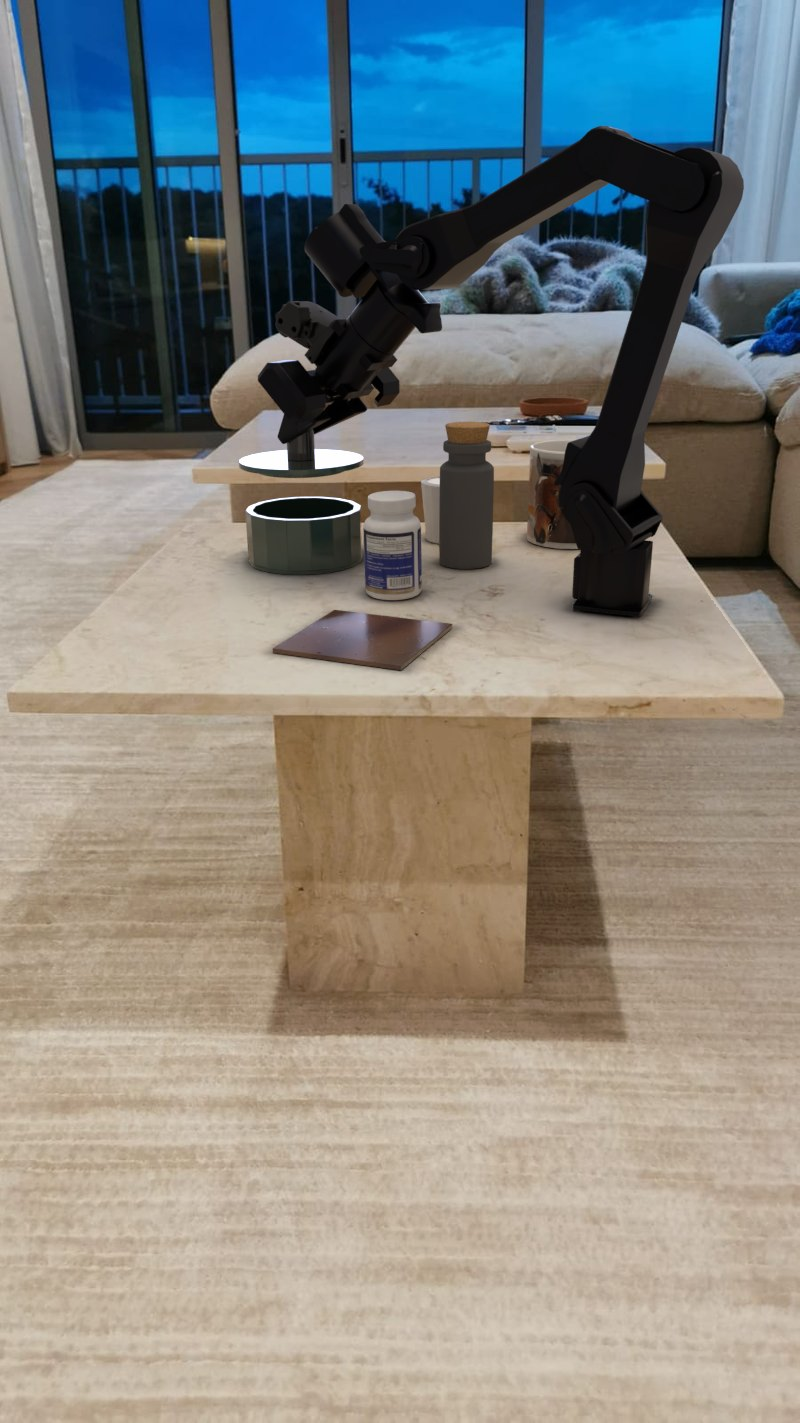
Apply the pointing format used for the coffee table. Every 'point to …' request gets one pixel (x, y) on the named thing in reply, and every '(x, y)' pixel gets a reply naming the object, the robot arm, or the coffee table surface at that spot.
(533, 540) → the mug
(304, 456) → the tin lid
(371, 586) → the pill bottle
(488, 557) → the bottle
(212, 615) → the coffee table surface
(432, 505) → the shot glass
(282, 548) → the tin
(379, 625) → the glossy brown square tile
